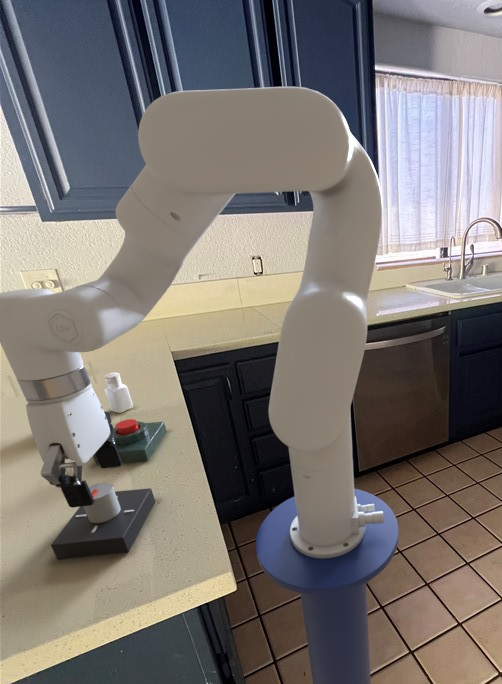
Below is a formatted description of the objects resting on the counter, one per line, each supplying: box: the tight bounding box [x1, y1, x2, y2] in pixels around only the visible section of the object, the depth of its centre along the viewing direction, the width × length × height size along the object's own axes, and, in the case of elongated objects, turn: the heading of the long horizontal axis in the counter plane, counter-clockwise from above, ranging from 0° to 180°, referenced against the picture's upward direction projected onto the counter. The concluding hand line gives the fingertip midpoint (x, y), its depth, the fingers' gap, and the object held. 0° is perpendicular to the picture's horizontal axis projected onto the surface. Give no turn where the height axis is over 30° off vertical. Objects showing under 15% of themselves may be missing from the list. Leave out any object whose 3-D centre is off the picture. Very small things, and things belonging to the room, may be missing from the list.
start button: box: [114, 418, 139, 435], centre depth 90 cm, size 4×4×2 cm
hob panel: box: [50, 487, 156, 561], centre depth 69 cm, size 10×12×3 cm
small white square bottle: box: [103, 372, 134, 414], centre depth 106 cm, size 4×4×10 cm
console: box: [92, 420, 167, 466], centre depth 91 cm, size 10×12×4 cm
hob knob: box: [84, 482, 121, 523], centre depth 67 cm, size 4×4×5 cm
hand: (98, 484), depth 66 cm, fingers open, 9 cm apart
